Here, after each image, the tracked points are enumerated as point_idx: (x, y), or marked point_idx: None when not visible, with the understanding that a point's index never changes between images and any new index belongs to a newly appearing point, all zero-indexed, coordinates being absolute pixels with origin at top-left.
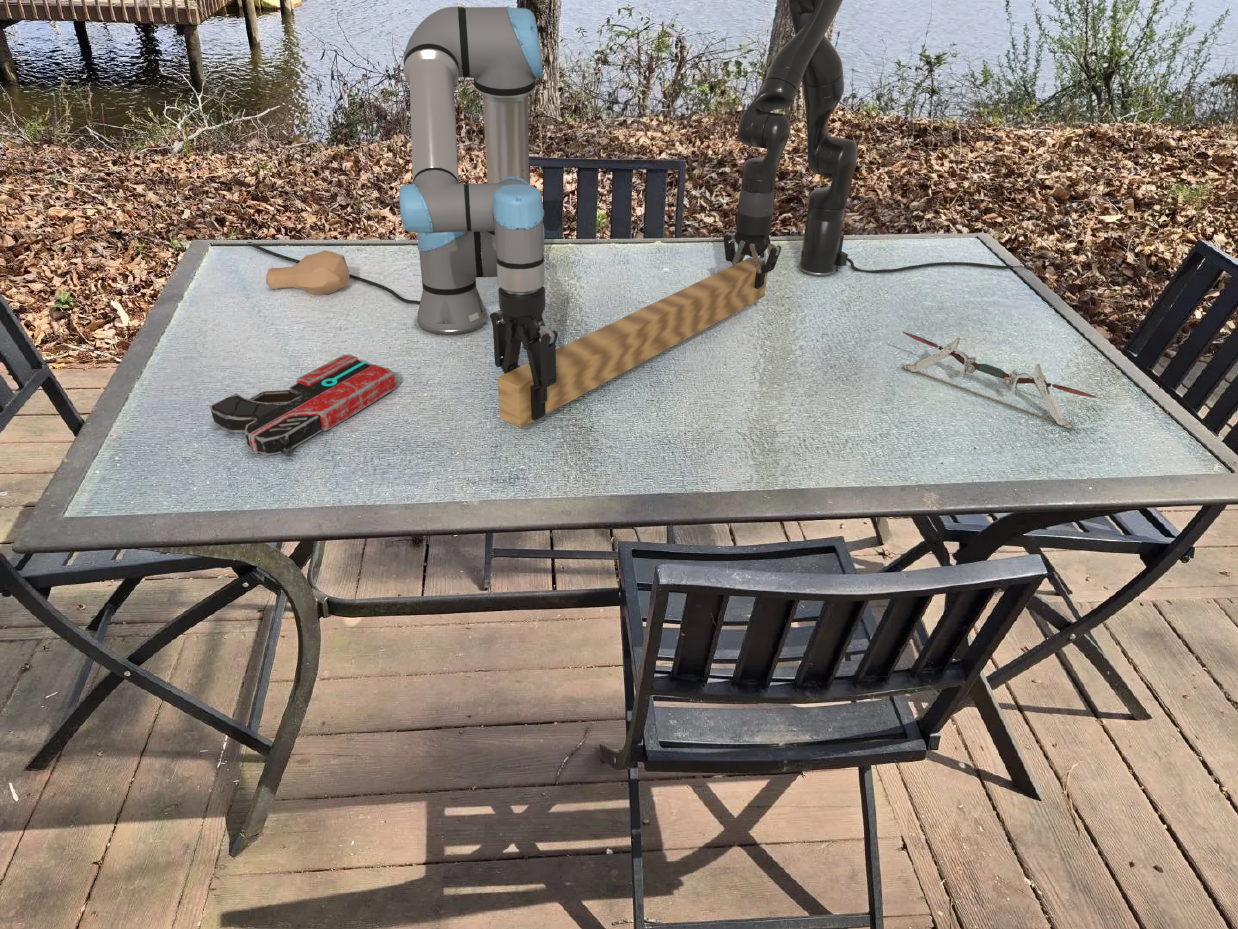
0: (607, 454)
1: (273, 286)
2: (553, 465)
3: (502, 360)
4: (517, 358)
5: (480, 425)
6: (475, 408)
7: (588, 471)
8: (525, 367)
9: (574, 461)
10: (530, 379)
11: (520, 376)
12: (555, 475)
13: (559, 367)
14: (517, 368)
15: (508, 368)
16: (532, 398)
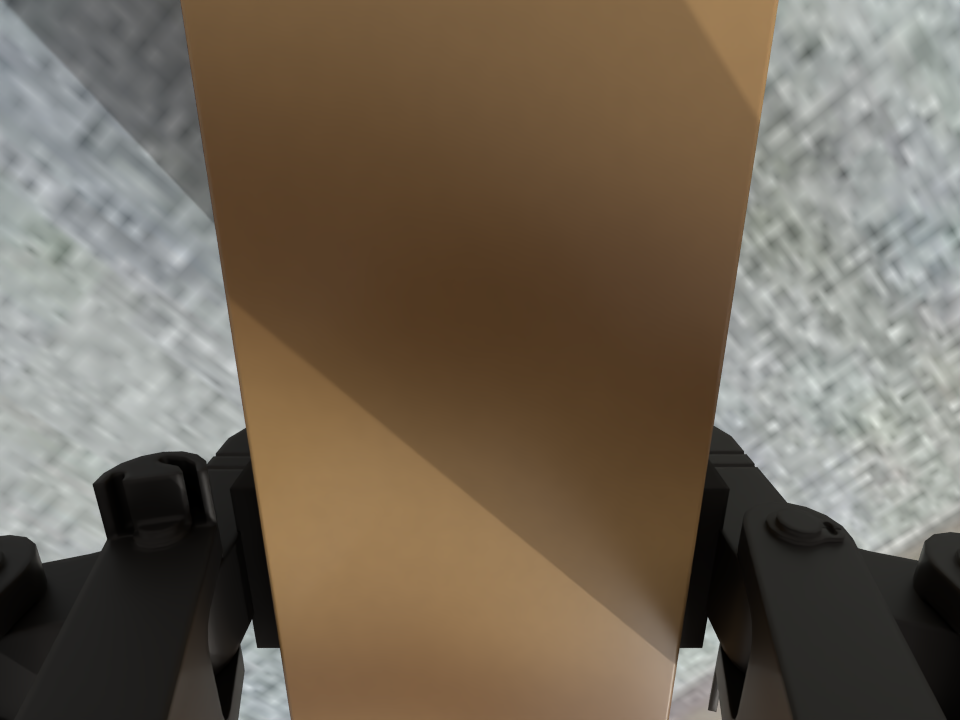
0: (943, 133)
1: None
2: (741, 403)
3: (12, 706)
4: (187, 691)
5: (197, 386)
6: (17, 285)
7: (923, 331)
8: (341, 516)
9: (812, 311)
10: (649, 685)
11: (492, 707)
12: (797, 452)
13: (758, 112)
14: (288, 602)
15: (235, 710)
16: None
